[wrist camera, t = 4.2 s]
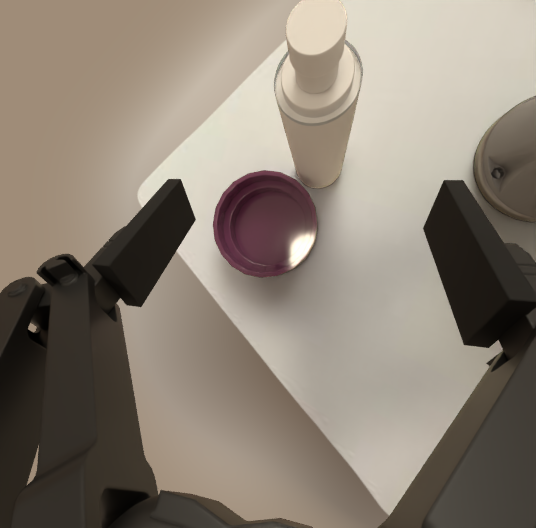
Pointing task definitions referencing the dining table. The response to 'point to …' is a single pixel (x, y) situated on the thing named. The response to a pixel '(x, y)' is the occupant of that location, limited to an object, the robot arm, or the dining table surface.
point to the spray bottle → (318, 89)
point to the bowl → (265, 224)
